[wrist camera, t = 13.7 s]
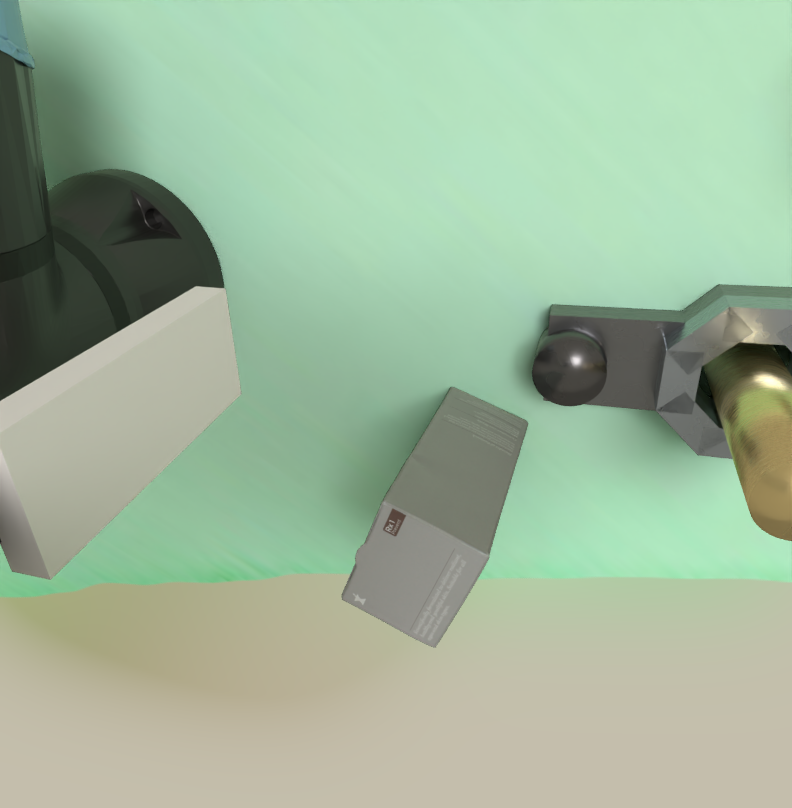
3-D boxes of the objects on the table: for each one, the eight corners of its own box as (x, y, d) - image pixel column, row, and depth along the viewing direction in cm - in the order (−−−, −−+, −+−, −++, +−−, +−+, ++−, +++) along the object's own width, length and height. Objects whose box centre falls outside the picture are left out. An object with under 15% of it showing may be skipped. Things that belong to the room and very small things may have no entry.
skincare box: (488, 499, 49) (444, 661, 36) (406, 460, 50) (332, 607, 36) (534, 416, 45) (504, 567, 31) (443, 375, 45) (375, 506, 32)
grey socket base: (534, 408, 44) (528, 437, 41) (542, 277, 40) (536, 297, 36) (945, 447, 38) (978, 485, 34) (1010, 295, 33) (1056, 322, 30)
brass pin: (697, 385, 40) (739, 534, 28) (709, 327, 38) (760, 458, 26) (767, 390, 39) (843, 547, 27) (782, 331, 37) (873, 470, 25)
